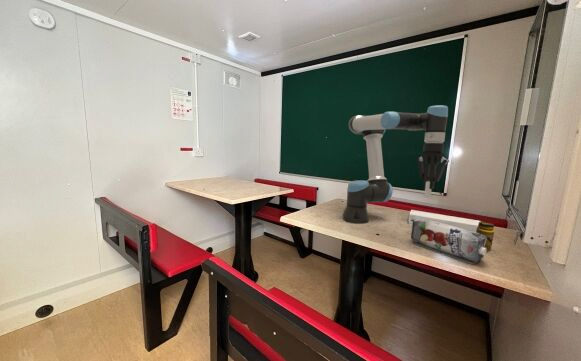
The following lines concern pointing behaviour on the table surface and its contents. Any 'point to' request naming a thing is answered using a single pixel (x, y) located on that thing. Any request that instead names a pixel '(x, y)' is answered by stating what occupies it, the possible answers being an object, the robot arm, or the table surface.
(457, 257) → the mat
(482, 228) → the condiment
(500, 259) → the table surface
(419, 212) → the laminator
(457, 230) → the juice carton
